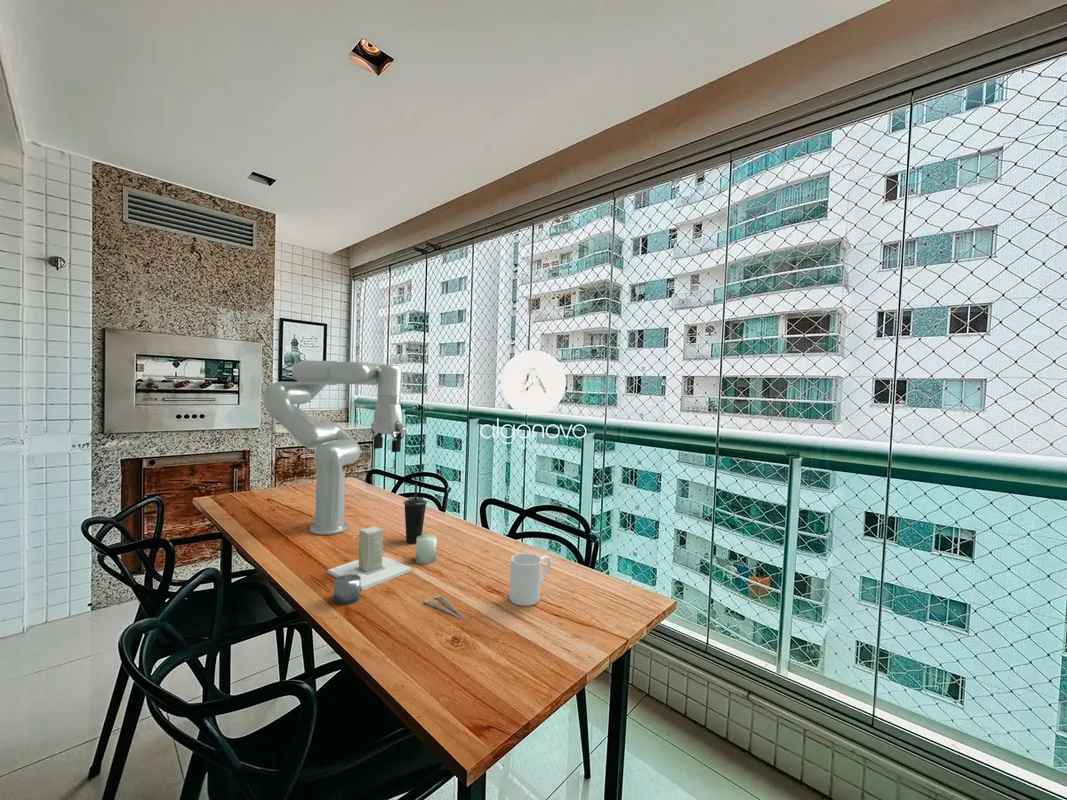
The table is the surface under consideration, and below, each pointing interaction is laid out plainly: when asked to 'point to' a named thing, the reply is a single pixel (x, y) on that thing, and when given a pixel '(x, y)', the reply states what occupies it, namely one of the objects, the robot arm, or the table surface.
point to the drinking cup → (414, 517)
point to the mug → (526, 578)
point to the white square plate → (372, 572)
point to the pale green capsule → (426, 549)
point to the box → (370, 548)
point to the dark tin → (347, 589)
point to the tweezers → (444, 608)
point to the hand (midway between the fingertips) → (386, 450)
